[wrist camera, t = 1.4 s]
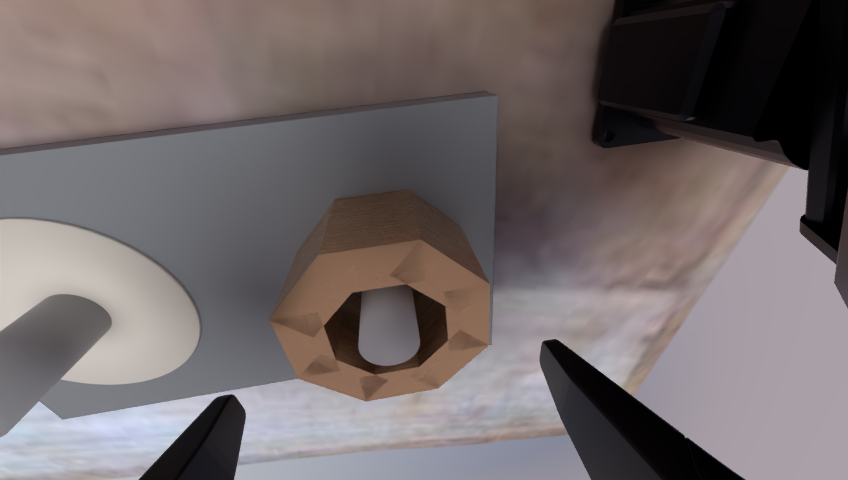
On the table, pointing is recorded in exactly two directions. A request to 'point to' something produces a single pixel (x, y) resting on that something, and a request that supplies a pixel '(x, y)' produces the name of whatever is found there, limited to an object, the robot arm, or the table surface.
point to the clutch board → (210, 246)
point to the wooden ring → (378, 268)
